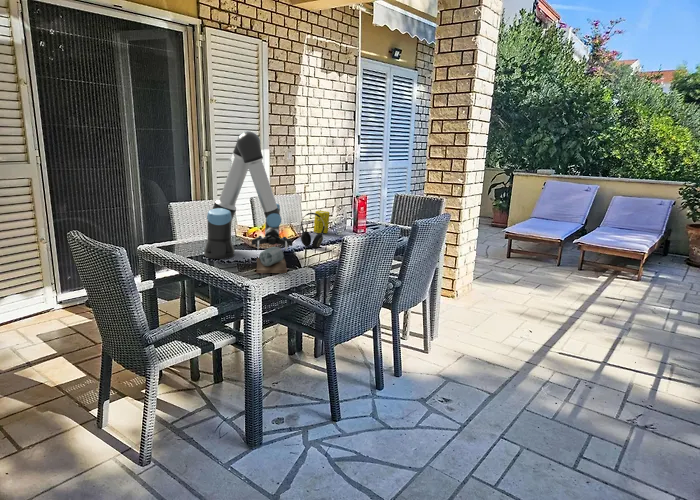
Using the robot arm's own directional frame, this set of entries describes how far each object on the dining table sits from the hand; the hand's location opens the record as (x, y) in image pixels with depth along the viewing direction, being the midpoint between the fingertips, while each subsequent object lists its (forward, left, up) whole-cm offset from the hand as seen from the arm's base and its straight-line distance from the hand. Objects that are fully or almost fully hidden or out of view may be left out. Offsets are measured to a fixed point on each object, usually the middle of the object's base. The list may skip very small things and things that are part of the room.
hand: (272, 247), depth 227 cm
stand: (0, -3, -10) cm, 10 cm away
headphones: (+24, +37, -10) cm, 45 cm away
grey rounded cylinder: (0, -3, -8) cm, 8 cm away
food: (+34, +72, -10) cm, 80 cm away
